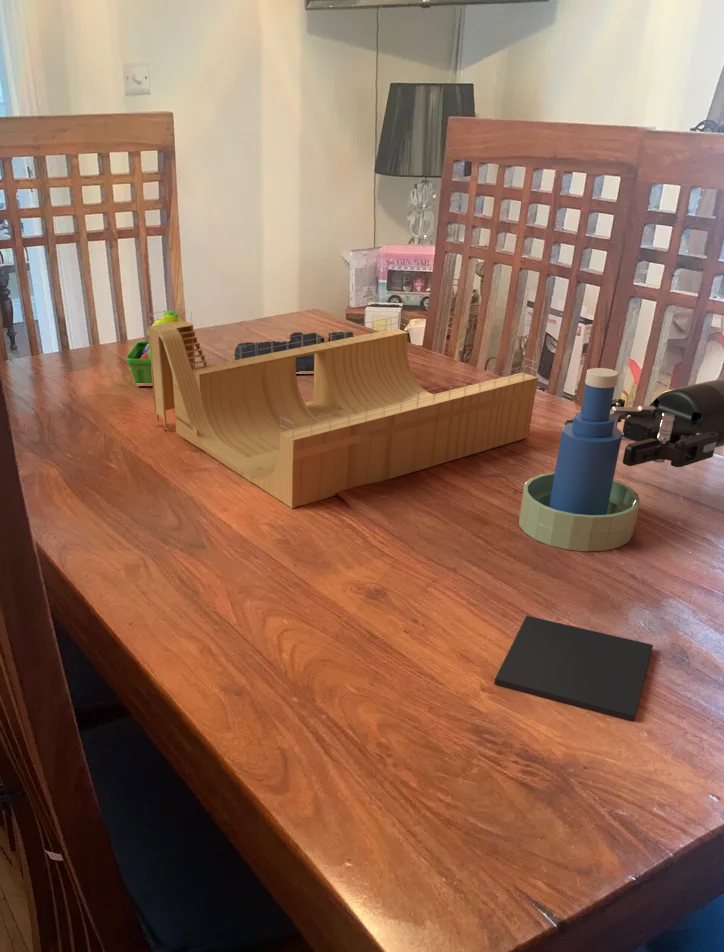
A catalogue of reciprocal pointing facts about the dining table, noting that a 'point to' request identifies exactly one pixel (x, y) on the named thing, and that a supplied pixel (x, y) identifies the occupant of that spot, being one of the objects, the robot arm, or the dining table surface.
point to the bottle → (588, 450)
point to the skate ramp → (329, 412)
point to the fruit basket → (146, 353)
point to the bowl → (577, 518)
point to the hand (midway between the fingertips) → (595, 442)
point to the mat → (576, 667)
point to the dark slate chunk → (288, 347)
